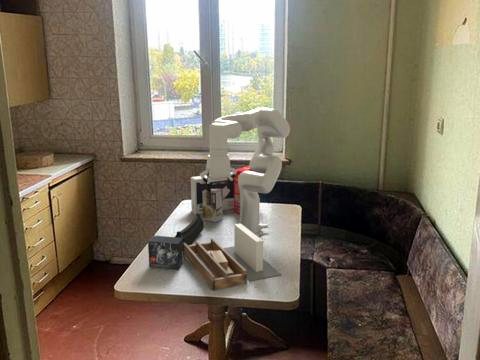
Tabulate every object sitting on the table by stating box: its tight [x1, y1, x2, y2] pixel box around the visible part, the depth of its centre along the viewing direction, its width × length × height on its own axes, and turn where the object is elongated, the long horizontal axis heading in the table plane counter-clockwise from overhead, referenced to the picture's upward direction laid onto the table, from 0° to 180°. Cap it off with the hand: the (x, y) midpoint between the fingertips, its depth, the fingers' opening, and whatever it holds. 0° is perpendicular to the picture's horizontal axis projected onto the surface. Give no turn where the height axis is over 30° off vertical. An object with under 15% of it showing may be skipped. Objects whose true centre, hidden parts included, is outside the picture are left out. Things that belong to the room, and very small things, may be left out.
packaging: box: [190, 171, 234, 215], centre depth 270 cm, size 30×6×20 cm, turn 117°
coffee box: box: [202, 189, 224, 223], centre depth 254 cm, size 9×6×16 cm
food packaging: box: [233, 165, 259, 216], centre depth 266 cm, size 15×5×25 cm, turn 141°
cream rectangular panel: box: [233, 223, 264, 272], centre depth 202 cm, size 3×22×13 cm, turn 24°
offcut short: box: [210, 250, 228, 268], centre depth 197 cm, size 4×12×2 cm, turn 17°
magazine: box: [174, 213, 205, 245], centre depth 221 cm, size 17×3×30 cm
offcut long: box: [207, 250, 235, 276], centre depth 198 cm, size 4×24×3 cm, turn 20°
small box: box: [147, 235, 184, 271], centre depth 197 cm, size 13×7×12 cm, turn 80°
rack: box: [183, 238, 248, 291], centre depth 196 cm, size 14×36×6 cm, turn 24°
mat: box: [223, 245, 282, 282], centre depth 203 cm, size 14×34×1 cm, turn 24°
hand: (219, 190), depth 208 cm, fingers open, 9 cm apart
